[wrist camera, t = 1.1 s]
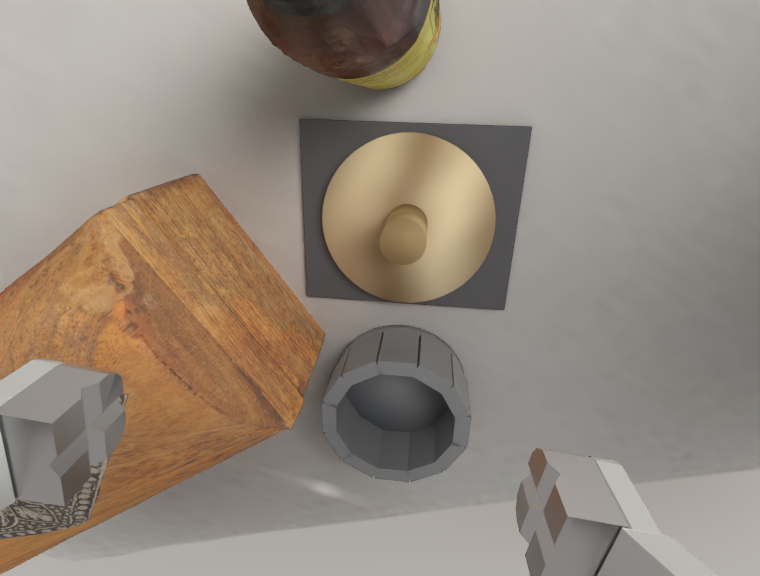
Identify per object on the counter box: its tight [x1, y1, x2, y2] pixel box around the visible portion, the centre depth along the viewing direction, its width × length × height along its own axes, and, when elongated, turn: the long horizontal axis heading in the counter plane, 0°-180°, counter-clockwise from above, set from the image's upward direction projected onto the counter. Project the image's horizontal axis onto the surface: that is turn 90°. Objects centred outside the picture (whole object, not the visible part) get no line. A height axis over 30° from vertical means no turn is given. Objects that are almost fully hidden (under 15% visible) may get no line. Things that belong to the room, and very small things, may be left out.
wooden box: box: [0, 174, 325, 574], centre depth 30 cm, size 30×16×14 cm, turn 124°
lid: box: [322, 132, 496, 303], centre depth 27 cm, size 11×11×5 cm
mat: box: [300, 119, 532, 310], centre depth 29 cm, size 14×12×1 cm
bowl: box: [321, 325, 471, 482], centre depth 32 cm, size 10×10×5 cm
